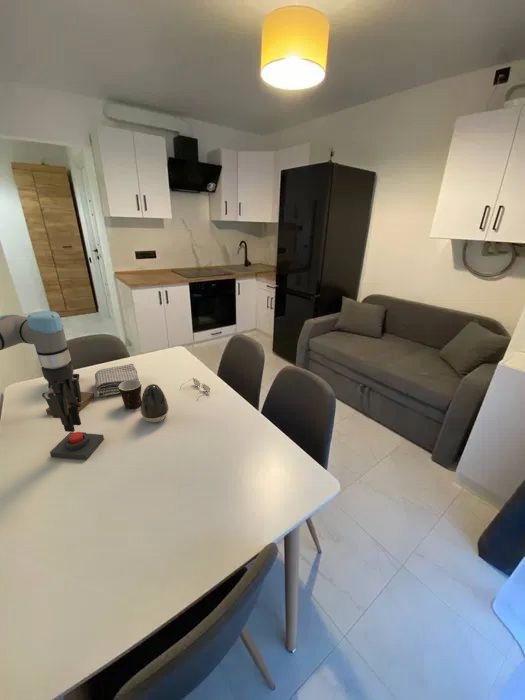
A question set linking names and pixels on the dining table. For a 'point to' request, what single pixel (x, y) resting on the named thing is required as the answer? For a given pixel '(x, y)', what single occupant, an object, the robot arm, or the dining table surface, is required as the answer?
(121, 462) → the dining table surface
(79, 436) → the bell button
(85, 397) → the plate
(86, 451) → the doorbell
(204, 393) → the eyeglasses
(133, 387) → the coffee mug
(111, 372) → the towel
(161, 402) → the dark egg shape
